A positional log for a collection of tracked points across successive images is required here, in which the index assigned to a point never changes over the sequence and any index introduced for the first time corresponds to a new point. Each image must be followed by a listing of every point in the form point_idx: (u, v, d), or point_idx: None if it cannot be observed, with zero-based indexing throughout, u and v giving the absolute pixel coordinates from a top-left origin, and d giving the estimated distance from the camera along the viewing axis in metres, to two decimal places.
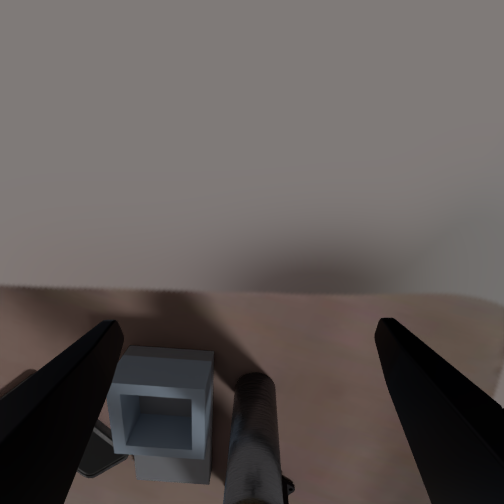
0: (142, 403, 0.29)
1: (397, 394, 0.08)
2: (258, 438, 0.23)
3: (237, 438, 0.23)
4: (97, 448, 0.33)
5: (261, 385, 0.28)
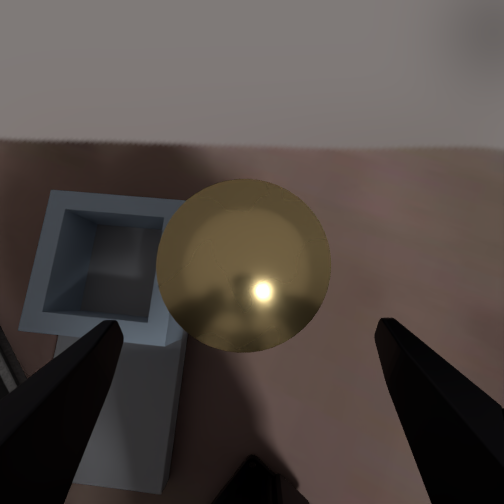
0: (87, 290, 0.20)
1: (397, 394, 0.08)
2: None
3: None
4: None
5: None
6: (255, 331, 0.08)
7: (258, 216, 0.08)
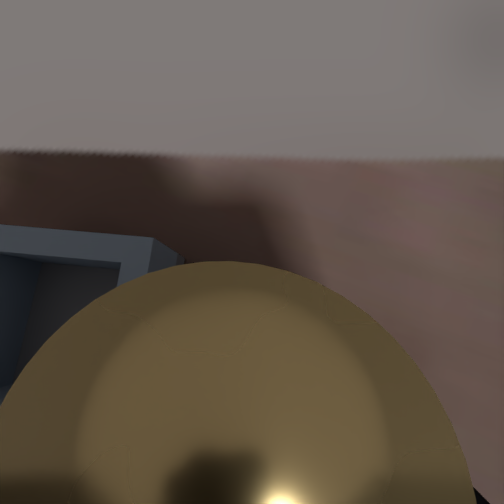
0: (23, 355, 0.15)
1: None
2: None
3: None
4: None
5: None
6: None
7: (261, 372, 0.03)
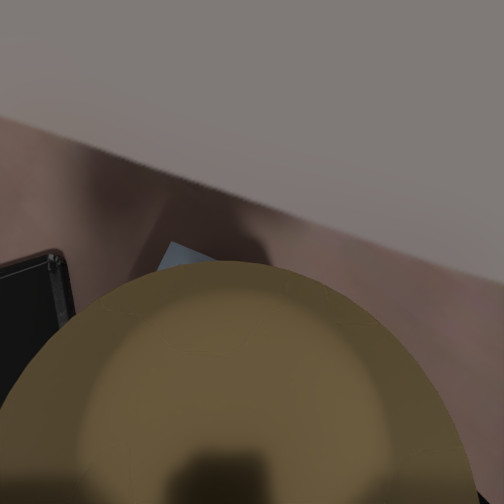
0: None
1: None
2: None
3: None
4: None
5: None
6: None
7: (263, 372, 0.03)
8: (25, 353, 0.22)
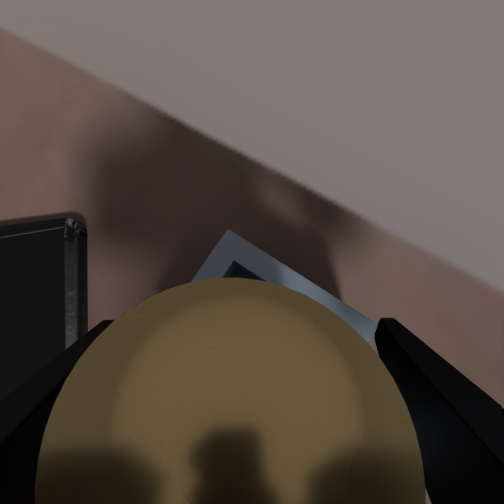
0: None
1: None
2: None
3: None
4: None
5: None
6: None
7: (261, 363, 0.04)
8: (19, 333, 0.18)
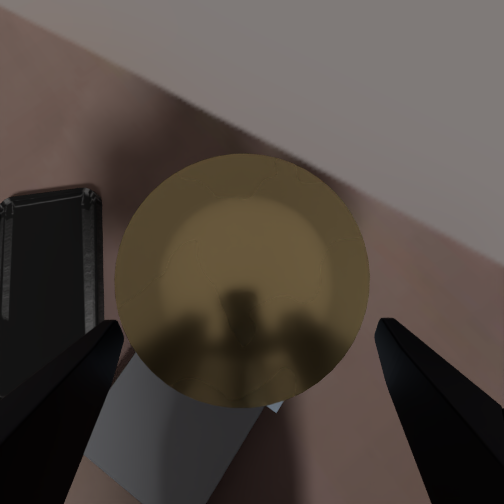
0: None
1: (397, 394, 0.08)
2: None
3: None
4: (60, 348, 0.19)
5: None
6: (259, 375, 0.05)
7: (263, 206, 0.06)
8: (42, 290, 0.20)
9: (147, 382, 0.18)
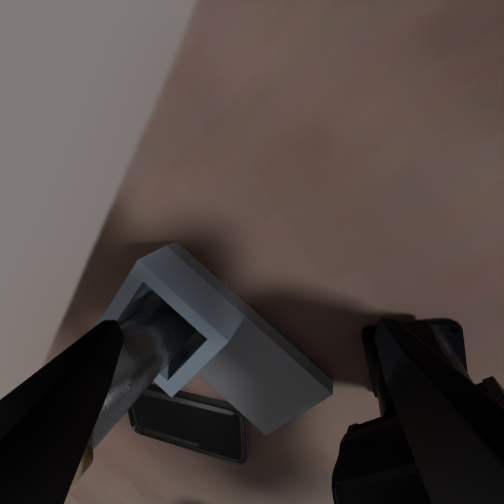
0: None
1: (397, 394, 0.08)
2: None
3: None
4: (216, 424, 0.29)
5: None
6: None
7: None
8: (183, 424, 0.31)
9: (233, 388, 0.26)
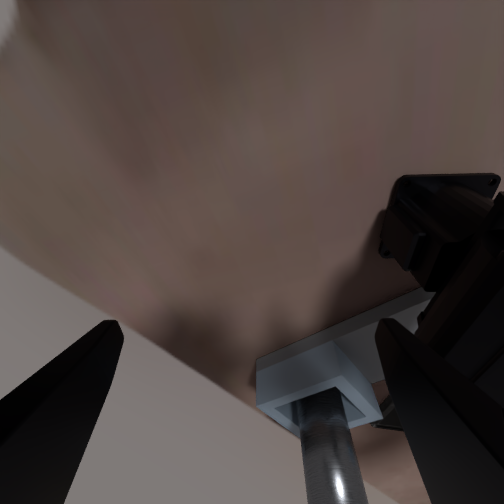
0: None
1: (397, 394, 0.08)
2: None
3: None
4: None
5: None
6: None
7: None
8: None
9: None
